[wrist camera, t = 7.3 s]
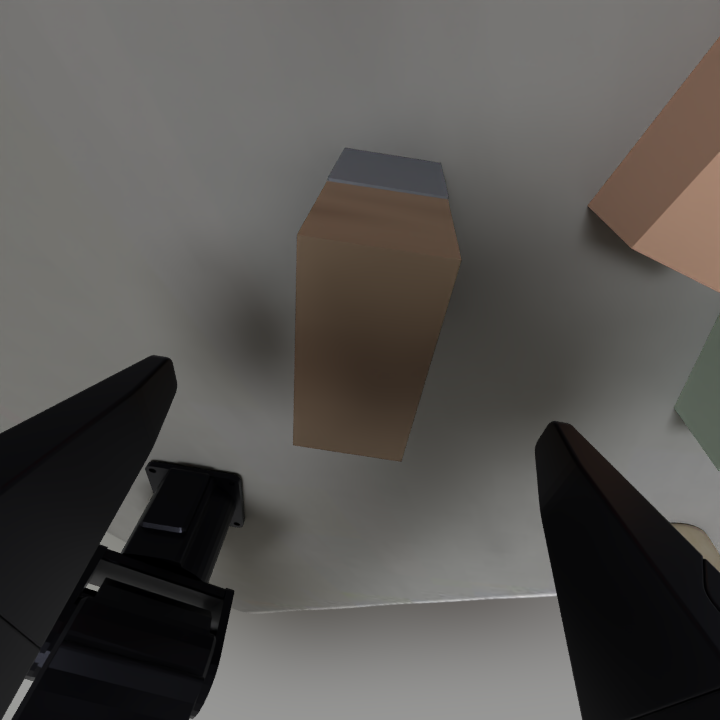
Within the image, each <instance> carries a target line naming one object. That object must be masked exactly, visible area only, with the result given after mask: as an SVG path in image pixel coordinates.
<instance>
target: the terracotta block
mask: <svg viewBox="0 0 720 720" xmlns="http://www.w3.org/2000/svg"><path fill="white" fill-rule="evenodd" d="M588 207H589V208H590V209H591V210H593V211H594V212H595V213H596V214H597V215H598V216H599V217H600V218H601V219H602V220H603V221H604V222H605V223H606V224H607V225H608V226H609V227H610V228H611V229H612V230H613V231H614V232H615V233H616V234H617V235H618V236H619V237H620V238H621V239H622V240H623V241H624V242H625V243H626V244H627V245H628V246H629V247H630V248H631V249H633V250H635V251H637V252H639V253H641V254H643V255H645V256H647V257H649V258H651V259H653V260H655V261H657V262H659V263H661V264H663V265H665V266H667V267H669V268H671V269H673V270H675V271H677V272H679V273H681V274H683V275H685V276H687V277H689V278H691V279H693V280H695V281H697V282H699V283H701V284H703V285H705V286H707V287H709V288H711V289H713V290H715V291H717V292H719V293H720V37H719V38H718V39H717V41H716V42H715V43H714V44H713V46H712V47H711V48H710V50H709V51H708V52H707V53H706V55H705V56H704V57H703V59H702V60H701V61H700V62H699V64H698V65H697V66H696V67H695V69H694V70H693V71H692V73H691V74H690V75H689V76H688V78H687V79H686V80H685V82H684V83H683V84H682V85H681V87H680V88H679V89H678V91H677V92H676V93H675V94H674V96H673V97H672V98H671V99H670V101H669V102H668V103H667V105H666V106H665V107H664V108H663V110H662V111H661V112H660V114H659V115H658V116H657V117H656V119H655V120H654V121H653V123H652V124H651V125H650V126H649V128H648V129H647V130H646V131H645V133H644V134H643V135H642V137H641V138H640V139H639V140H638V142H637V143H636V144H635V146H634V147H633V148H632V149H631V151H630V152H629V153H628V155H627V156H626V157H625V158H624V160H623V161H622V162H621V163H620V165H619V166H618V167H617V169H616V170H615V171H614V172H613V174H612V175H611V176H610V178H609V179H608V180H607V181H606V183H605V184H604V185H603V187H602V188H601V189H600V190H599V192H598V193H597V194H596V195H595V197H594V198H593V199H592V201H591V202H590V203H589V204H588Z"/></svg>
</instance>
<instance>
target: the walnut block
mask: <svg viewBox="0 0 720 720" xmlns="http://www.w3.org/2000/svg"><path fill="white" fill-rule="evenodd" d="M461 260H462V259H461V255H460V251H459V246H458V242H457V237H456V233H455V229H454V224H453V220H452V215H451V211H450V207H449V202H448V199H442V198H436V197H429V196H423V195H416V194H410V193H403V192H397V191H390V190H383V189H377V188H370V187H364V186H357V185H351V184H344V183H338V182H331V181H327V182H326V184H325V186H324V188H323V189H322V191H321V193H320V195H319V197H318V198H317V200H316V202H315V204H314V205H313V207H312V209H311V211H310V213H309V214H308V216H307V218H306V220H305V222H304V223H303V225H302V227H301V229H300V230H299V232H298V234H297V266H296V318H295V371H294V423H293V445H295V446H302V447H308V448H315V449H321V450H328V451H334V452H341V453H348V454H354V455H361V456H367V457H374V458H380V459H387V460H393V461H400V462H401V461H402V458H403V454H404V451H405V448H406V444H407V441H408V438H409V434H410V431H411V428H412V424H413V421H414V417H415V414H416V411H417V407H418V404H419V401H420V397H421V394H422V391H423V387H424V384H425V381H426V377H427V374H428V371H429V367H430V364H431V361H432V357H433V354H434V351H435V347H436V344H437V341H438V337H439V334H440V330H441V327H442V324H443V320H444V317H445V314H446V310H447V307H448V304H449V300H450V297H451V294H452V290H453V287H454V284H455V280H456V277H457V274H458V270H459V267H460V264H461Z"/></svg>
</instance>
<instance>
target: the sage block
mask: <svg viewBox="0 0 720 720" xmlns="http://www.w3.org/2000/svg"><path fill="white" fill-rule="evenodd" d="M674 409H675V410H676V411H677V413H678V414H679V416H680V417H681V418H682V420H683V421H684V423H685V424H686V426H687V427H688V428H689V430H690V431H691V433H692V434H693V436H694V437H695V438H696V440H697V441H698V443H699V444H700V445H701V447H702V448H703V450H704V451H705V453H706V454H707V455H708V457H709V458H710V460H711V461H712V463H713V464H714V465H715V467H716V468H717V470H718V471H720V314H719V316H718V318H717V320H716V322H715V324H714V326H713V328H712V330H711V333H710V335H709V337H708V339H707V341H706V343H705V345H704V347H703V349H702V351H701V353H700V355H699V357H698V359H697V361H696V363H695V365H694V367H693V369H692V371H691V374H690V376H689V378H688V380H687V382H686V384H685V386H684V388H683V390H682V392H681V394H680V396H679V398H678V400H677V402H676V404H675V406H674Z"/></svg>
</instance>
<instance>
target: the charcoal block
mask: <svg viewBox="0 0 720 720" xmlns="http://www.w3.org/2000/svg"><path fill="white" fill-rule="evenodd" d="M328 181H331V182H338V183H344V184H351V185H357V186H364V187H370V188H377V189H383V190H390V191H397V192H403V193H410V194H416V195H423V196H429V197H436V198H442V199H448V198H449V196H448V192H447V187H446V183H445V179H444V175H443V170H442V166H441V163H438V162H432V161H425V160H419V159H413V158H406V157H400V156H394V155H388V154H381V153H375V152H369V151H362V150H356V149H350V148H344V150H343V152H342V154H341V155H340V157H339V159H338V161H337V162H336V164H335V166H334V168H333V169H332V171H331V173H330V175H329V176H328Z"/></svg>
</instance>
